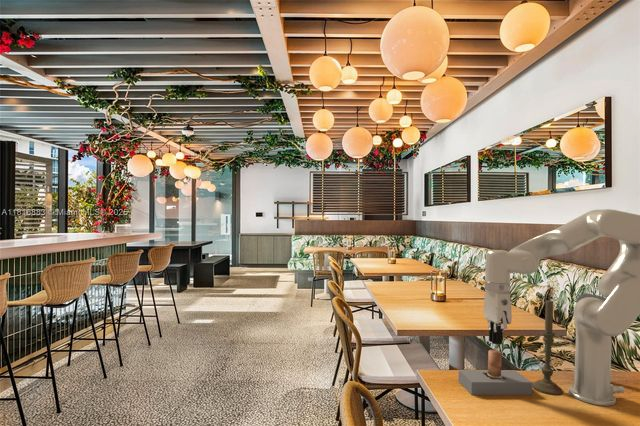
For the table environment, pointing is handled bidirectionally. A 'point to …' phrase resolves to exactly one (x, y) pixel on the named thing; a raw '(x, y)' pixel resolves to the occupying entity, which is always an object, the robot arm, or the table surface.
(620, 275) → the robot arm
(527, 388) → the seat board
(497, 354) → the dowel
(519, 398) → the table surface
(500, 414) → the table surface
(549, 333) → the candlestick holder
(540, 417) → the table surface
